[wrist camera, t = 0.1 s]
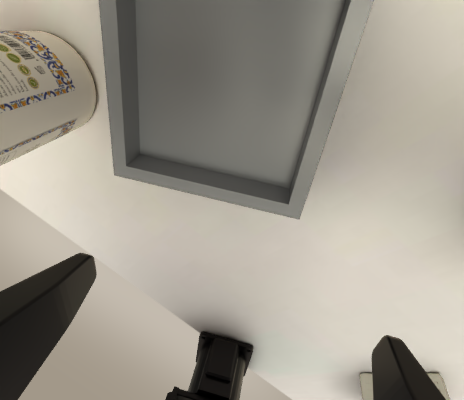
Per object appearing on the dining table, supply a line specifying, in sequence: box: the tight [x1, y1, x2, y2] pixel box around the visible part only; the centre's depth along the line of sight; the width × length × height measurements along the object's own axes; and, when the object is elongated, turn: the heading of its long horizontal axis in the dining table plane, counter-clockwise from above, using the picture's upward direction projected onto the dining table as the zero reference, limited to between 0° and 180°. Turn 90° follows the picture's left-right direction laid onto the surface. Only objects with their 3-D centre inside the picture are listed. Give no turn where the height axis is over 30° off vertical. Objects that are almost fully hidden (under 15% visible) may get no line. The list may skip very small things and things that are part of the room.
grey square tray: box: [99, 0, 374, 219], centre depth 19 cm, size 14×14×3 cm
